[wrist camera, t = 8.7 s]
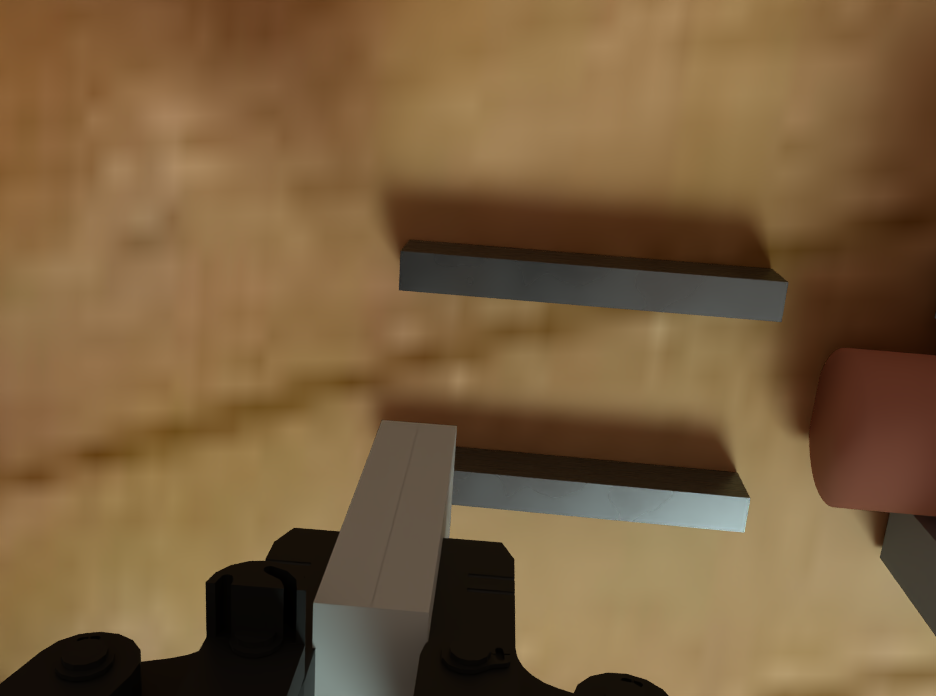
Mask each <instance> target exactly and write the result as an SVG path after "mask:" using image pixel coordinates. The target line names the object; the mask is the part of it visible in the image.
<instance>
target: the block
mask: <svg viewBox="0 0 936 696" xmlns="http://www.w3.org/2000/svg"><path fill="white" fill-rule="evenodd" d="M935 318H936V314H935ZM880 558H881V560H882V561H883V563H884V564H885V566H886V567H887V568H888V570H889V571H890V573H891V574H892V575H893V577H894V578H895V580H896V581H897V582H898V584H899V585H900V587H901V588H902V589H903V591H904V592H905V594H906V595H907V596H908V598H909V599H910V601H911V602H912V604H913V605H914V606H915V608H916V609H917V611H918V612H919V613H920V615H921V616H922V618H923V619H924V620H925V622H926V623H927V625H928V626H929V627H930V629H931V630H932V632H933V633H934V634H935V636H936V517H934V516H923V515H912V514H902V513H891V512H890V516H889V520H888V524H887V529H886V533H885V537H884V542H883V546H882V551H881V555H880Z"/></svg>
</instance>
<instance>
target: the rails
mask: <svg viewBox="0 0 936 696" xmlns="http://www.w3.org/2000/svg"><path fill="white" fill-rule="evenodd" d="M787 287H788V282H787V281H786V280H785V279H784V278H783V277H781V276H780V275H779V274H778V273H776V272H775V271H774V270H773V269H768V268H756V267H743V266H731V265H718V264H706V263H693V262H681V261H668V260H656V259H643V258H631V257H618V256H606V255H593V254H581V253H568V252H556V251H544V250H531V249H519V248H506V247H494V246H481V245H469V244H456V243H444V242H431V241H419V240H409V241H408V242H407V244H406V245H405V246H404V247H403V249H402V250H401V255H400V277H399V290H403V291H415V292H427V293H439V294H451V295H463V296H475V297H487V298H499V299H511V300H523V301H535V302H547V303H559V304H571V305H584V306H596V307H608V308H620V309H632V310H644V311H656V312H668V313H680V314H692V315H704V316H716V317H728V318H740V319H752V320H764V321H776V322H782V316H783V310H784V305H785V299H786V293H787ZM749 503H750V497H749V495H748V493H747V491H746V489H745V487H744V485H743V483H742V481H741V479H740V477H739V475H738V473H737V472H727V471H716V470H705V469H694V468H683V467H672V466H661V465H650V464H639V463H628V462H617V461H606V460H596V459H585V458H574V457H563V456H552V455H541V454H530V453H519V452H508V451H497V450H486V449H476V448H465V447H455V461H454V476H453V490H452V505H461V506H472V507H483V508H493V509H504V510H514V511H525V512H535V513H546V514H556V515H567V516H577V517H588V518H598V519H609V520H619V521H630V522H641V523H651V524H662V525H672V526H683V527H693V528H704V529H714V530H725V531H735V532H744V531H745V526H746V520H747V514H748V509H749Z"/></svg>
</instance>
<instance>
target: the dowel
mask: <svg viewBox="0 0 936 696" xmlns="http://www.w3.org/2000/svg"><path fill="white" fill-rule="evenodd" d="M809 447H810V460H811V467H812V473H813V478H814V482H815V485H816V488H817V490H818V493H819V495H820V496H821V498H822V500H823V501H824V502H825V503H826V504H827V505H829V506H831V507H837V508H848V509H858V510H869V511H880V512H891V513H902V514H912V515H923V516H934V517H936V355H926V354H914V353H902V352H891V351H879V350H867V349H855V348H839V349H837V350H836V351H834V352H833V353H832V354H831V355H830V356H829V358H828V359H827V361H826V363H825V365H824V366H823V369H822V371H821V373H820V377H819V382H818V387H817V392H816V398H815V403H814V408H813V413H812V418H811V423H810V433H809Z"/></svg>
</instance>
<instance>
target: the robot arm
mask: <svg viewBox="0 0 936 696" xmlns="http://www.w3.org/2000/svg"><path fill="white" fill-rule="evenodd" d="M456 432H457V426H452V425H439V424H426V423H414V422H401V421H389V420H382V421H381V424H380V426H379V429H378V432H377V434H376V437H375V440H374V442H373V445H372V448H371V450H370V453H369V456H368V458H367V461H366V464H365V466H364V469H363V472H362V474H361V477H360V480H359V482H358V485H357V488H356V490H355V493H354V496H353V498H352V501H351V504H350V506H349V509H348V512H347V514H346V517H345V520H344V522H343V525H342V528H341V530H340V532H339V531H327V530H315V529H302V528H293V529H292V530H290V531H289V532H288V533H286V534H285V535H283V536H282V537H280V538H279V539H278V540H276V541H275V542H274V543H273V545H272V547H271V549H270V551H269V553H268V555H267V557H266V561H248V562H243V563H239V564H234V565H230V566H228V567H226V568H224V569H222V570H220V571H218V572H216V573H215V574H214V575H213V576H212V577H211V578H210V579H209V580H208V581H207V582H206V630H207V637H206V639H205V641H204V643H203V645H202V646H201V648H200V650H199V651H198V652H195V653H192V654H189V655H185V656H180V657H175V658H168V659H160V660H152V661H144V662H141V651H140V649H139V648H138V646H137V645H136V644H135V642H134V641H133V640H131V639H129V638H127V637H124V636H122V635H120V634H114V633H105V632H93V633H85V634H78V635H75V636H72V637H69V638H66V639H63V640H60V641H58V642H56V643H54V644H53V645H51V646H49V647H48V648H46V649H44V650H43V651H41V652H40V653H38V654H37V655H36V656H35V657H33V658H32V659H31V660H30V661H28V662H27V663H26V664H25V665H23V666H22V667H21V668H20V669H18V670H17V671H16V672H15V673H13V674H12V675H11V676H10V677H8V678H7V679H6V680H5V681H3V682H2V683H1V684H0V696H668V695H667V693H666V692H665V691H664V690H663V689H661V688H659V687H658V686H656V685H654V684H653V683H651V682H649V681H647V680H645V679H642V678H639V677H635V676H632V675H629V674H620V673H604V674H599V675H594V676H590V677H589V678H587V679H586V680H584V681H583V682H581V683H580V684H578V685H577V687H576V690H575V692H574V693H571V692H568V691H565V690H561V689H558V688H556V687H553V686H551V685H548V684H546V683H544V682H542V681H540V680H539V679H537V678H535V677H534V676H532V675H531V674H530V673H529V672H528V671H527V670H526V669H525V668H524V667H523V666H522V664H521V663H520V661H519V659H518V657H517V654H516V649H515V595H514V594H515V581H514V558H513V557H512V556H511V554H510V553H509V552H508V550H507V549H506V548H505V546H504V545H503V544H502V543H500V542H488V541H475V540H463V539H451V538H449V534H450V519H451V505H452V490H453V476H454V461H455V447H456Z"/></svg>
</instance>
